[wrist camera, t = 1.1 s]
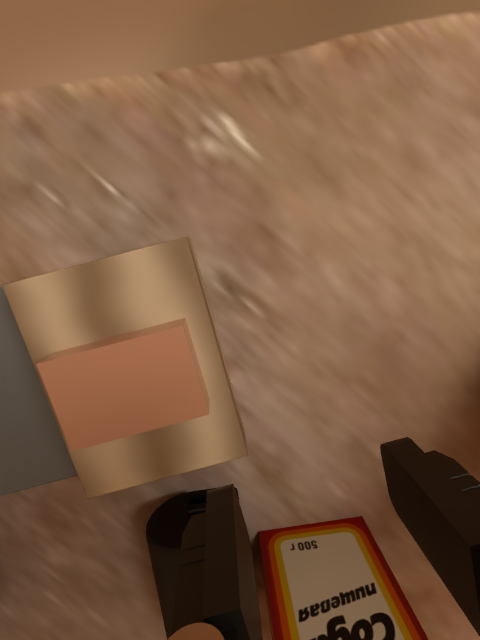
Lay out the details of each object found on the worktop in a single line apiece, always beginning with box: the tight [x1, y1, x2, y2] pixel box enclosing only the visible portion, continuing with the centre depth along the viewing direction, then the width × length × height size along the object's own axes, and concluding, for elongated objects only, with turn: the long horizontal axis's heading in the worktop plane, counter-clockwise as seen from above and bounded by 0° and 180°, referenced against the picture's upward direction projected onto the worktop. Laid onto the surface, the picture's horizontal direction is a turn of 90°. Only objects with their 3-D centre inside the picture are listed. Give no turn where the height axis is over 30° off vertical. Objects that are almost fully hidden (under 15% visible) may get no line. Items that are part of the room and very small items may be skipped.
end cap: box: [146, 487, 239, 640], centre depth 29 cm, size 10×7×7 cm
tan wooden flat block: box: [2, 237, 248, 499], centre depth 27 cm, size 12×16×4 cm
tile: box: [36, 318, 210, 452], centre depth 24 cm, size 9×6×2 cm, turn 104°
